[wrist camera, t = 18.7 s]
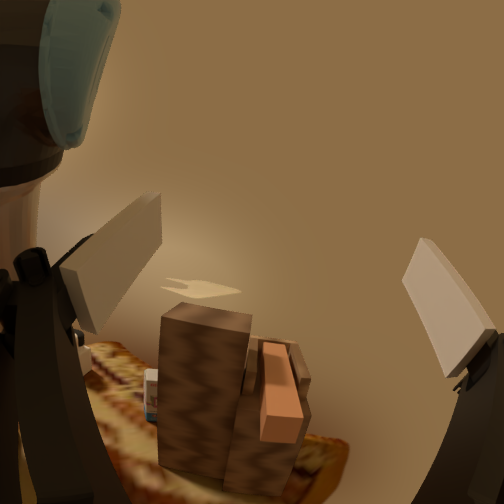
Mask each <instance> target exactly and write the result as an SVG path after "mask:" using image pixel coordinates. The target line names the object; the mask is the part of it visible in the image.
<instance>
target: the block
mask: <svg viewBox="0 0 504 504" xmlns="http://www.w3.org/2000/svg"><path fill="white" fill-rule="evenodd" d="M303 419H304V417H303V413H302V409H301V405H300V401H299V397H298V393H297V390H296V386H295V382H294V378H293V374H292V370H291V366H290V363H289V359H288V355H287V351H286V347H285V345H283V344H275V343H268V342H264V343H263V348H262V353H261V359H260V441H266V442H278V443H296V440H297V437H298V434H299V431H300V428H301V425H302V422H303Z"/></svg>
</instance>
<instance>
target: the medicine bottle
mask: <svg viewBox="0 0 504 504" xmlns="http://www.w3.org/2000/svg"><path fill="white" fill-rule="evenodd" d="M74 332H75V338H76V344H77V350H78V355H79V360H80V365H81V369H82V374H83V376H84V375H85V374H86V373H88V372H89V371H90V370H91V369H92V365H91V348H89V347H87V346H85V344H84V334H83V332H82V331H79V330H76V329H74Z"/></svg>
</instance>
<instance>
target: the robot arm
mask: <svg viewBox="0 0 504 504" xmlns="http://www.w3.org/2000/svg"><path fill="white" fill-rule="evenodd" d="M120 14H121V3H120V0H0V504H22V498H21V490H20V481H19V467H18V422H19V426H20V432H21V438H22V443H23V448H24V453H25V457H26V461H27V465H28V469H29V472H30V476H31V479H32V483H33V486H34V489H35V492H36V496H37V504H132V503H131V501H130V499H129V498H128V496H127V494H126V492H125V490H124V488H123V486H122V484H121V482H120V480H119V478H118V476H117V474H116V471H115V469H114V467H113V465H112V462H111V460H110V458H109V455H108V453H107V450H106V448H105V445H104V443H103V440H102V437H101V435H100V432H99V429H98V426H97V423H96V420H95V417H94V414H93V411H92V408H91V404H90V401H89V397H88V394H87V390H86V386H85V382H84V378H83V374H82V369H81V365H80V360H79V355H78V350H77V344H76V338H75V332H74V329H73V327H72V323H73V322H74V321H75V319H76V318H77V319H78V322H79V325H80V327H81V329H82V330H85V331H88V332H90V333H93V334H96V335H98V334H99V332H100V331H101V329H102V328H103V326H104V324H105V323H106V321H107V320H108V318H109V317H110V315H111V314H112V312H113V311H114V309H115V307H116V306H117V304H118V303H119V302H120V300H121V299H122V297H123V296H124V295H125V293H126V292H127V290H128V289H129V287H130V286H131V284H132V283H133V282H134V280H135V279H136V278H137V276H138V275H139V273H140V272H141V271H142V269H143V268H144V267H145V265H146V264H147V262H148V261H149V260H150V258H151V257H152V256H153V254H154V253H155V252H156V250H157V249H158V248H159V246H160V245H161V244H162V227H161V193H155V192H146V193H144V194H143V195H142V196H140V197H139V198H138V199H136V200H135V201H134V202H133V203H131V204H130V205H129V206H127V207H126V208H125V209H124V210H122V211H121V212H120V213H119V214H117V215H116V216H115V217H114V218H113V219H111V220H110V221H109V222H108V223H106V224H105V225H104V226H103V227H102V228H100V229H99V230H98V231H97V232H96V233H95V234H91V235H89V236H87V237H85V238H83V239H82V240H80V241H79V242H78V243H77V244H76V245H75V247H73V248H71V250H69V252H67V253H66V254H65V255H64V256H63V257H62V258H61V259H60V260H58V261H57V262H56V263H55V264H54V265H53V266H52V267H50V264H49V261H48V258H47V254H46V250H45V249H43V248H41V247H36V236H37V217H38V205H39V194H40V187H41V182H42V181H43V180H45V179H46V178H47V177H49V176H50V175H51V174H53V173H54V172H55V171H56V170H57V168H58V167H59V166H60V164H61V161H62V156H63V152H64V150H69V149H71V148H76V147H78V146H80V145H81V144H82V142H83V140H84V137H85V134H86V131H87V127H88V124H89V120H90V115H91V111H92V107H93V103H94V100H95V97H96V94H97V90H98V86H99V82H100V79H101V76H102V73H103V69H104V66H105V63H106V59H107V56H108V53H109V50H110V47H111V44H112V40H113V38H114V34H115V31H116V28H117V25H118V21H119V18H120ZM402 282H403V284H404V286H405V288H406V290H407V292H408V294H409V296H410V298H411V300H412V302H413V303H414V306H415V308H416V310H417V312H418V314H419V316H420V318H421V320H422V322H423V325H424V327H425V329H426V331H427V334H428V336H429V338H430V340H431V343H432V345H433V348H434V350H435V352H436V355H437V357H438V360H439V362H440V365H441V368H442V370H443V373H444V376H445V378H451V377H457V376H458V375H459V374H460V373H461V372H462V371H463V370H464V369H465V368H466V367H467V369H468V373H467V375H466V376H465V377H464V378H463V379H462V380H461V381H460V382H459V383H458V384H457V385H456V386H455V387H454V389H453V391H455V390H456V389H457V388H458V387H461V389H460V390H459V391H458V392H457V393H458V394H459V397H458V400H457V403H456V406H455V409H454V413H453V415H452V419H451V421H450V424H449V427H448V429H447V432H446V435H445V437H444V439H443V442H442V444H441V447H440V449H439V451H438V454H437V456H436V458H435V460H434V462H433V464H432V466H431V468H430V470H429V472H428V474H427V476H426V478H425V480H424V482H423V484H422V486H421V487H420V489H419V491H418V493H417V494H416V496H415V498H414V500H413V501H412V503H411V504H504V333H501V334H498V333H497V331H496V328H495V326H494V324H493V323H492V321H491V319H490V318H489V316H488V315H487V313H486V312H485V310H484V309H483V307H482V305H481V304H480V302H479V301H478V300H477V298H476V297H475V295H474V294H473V292H472V291H471V289H470V288H469V287H468V285H467V284H466V283H465V281H464V280H463V279H462V277H461V276H460V275H459V273H458V272H457V271H456V269H455V268H454V267H453V265H452V264H451V263H450V262H449V260H448V259H447V258H446V257H445V256H444V254H443V253H442V252H441V251H440V250H439V248H438V247H437V246H436V245H435V244H434V242H433V241H432V240H429V239H425V238H420V240H419V243H418V245H417V247H416V250H415V252H414V255H413V257H412V260H411V262H410V264H409V266H408V268H407V271H406V273H405V275H404V277H403V279H402Z"/></svg>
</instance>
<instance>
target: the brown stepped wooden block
mask: <svg viewBox="0 0 504 504" xmlns="http://www.w3.org/2000/svg"><path fill="white" fill-rule="evenodd" d="M251 322H252V315H249V314H244V313H238V312H232V311H226V310H220V309H215V308H209V307H204V306H199V305H194V304H188V303H184V302H181V303H180V304H178V305H177V306H175V307H174V308H172V309H171V310H169V311H168V312H167V313H165V314H164V315H162V316H161V327H160V340H159V357H158V383H157V439H158V462H159V465H162V466H165V467H169V468H172V469H176V470H180V471H184V472H188V473H192V474H197V475H202V476H207V477H212V478H217V479H223V480H224V483H223V489H222V491H228V492H235V493H243V494H253V495H265V496H281V494H282V492H283V490H284V487H285V485H286V483H287V480H288V478H289V476H290V473H291V471H292V468H293V466H294V463H295V461H296V458H297V456H298V453H299V450H300V448H301V445H302V442H303V439H304V437H305V434H306V431H307V428H308V425H309V422H310V419H311V412H310V408H309V405H308V402H307V398H306V396H307V392H308V389H309V385H310V382H311V376H310V374H309V371H308V368H307V366H306V363H305V361H304V358H303V356H302V353H301V350H300V348H299V345H298V343H297V341H290V340H282V339H274V338H267V337H260V336H254V335H250V330H251ZM249 337H250V340H249ZM264 342H268V343H275V344H283V345H285V347H286V351H287V355H288V359H289V363H290V366H291V370H292V374H293V378H294V382H295V386H296V390H297V393H298V397H299V401H300V405H301V409H302V413H303V417H304V419H303V422H302V425H301V428H300V431H299V434H298V437H297V440H296V443H278V442H266V441H260V359H261V353H262V348H263V343H264ZM248 343H249V346H248ZM247 348H248V352H247Z"/></svg>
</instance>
